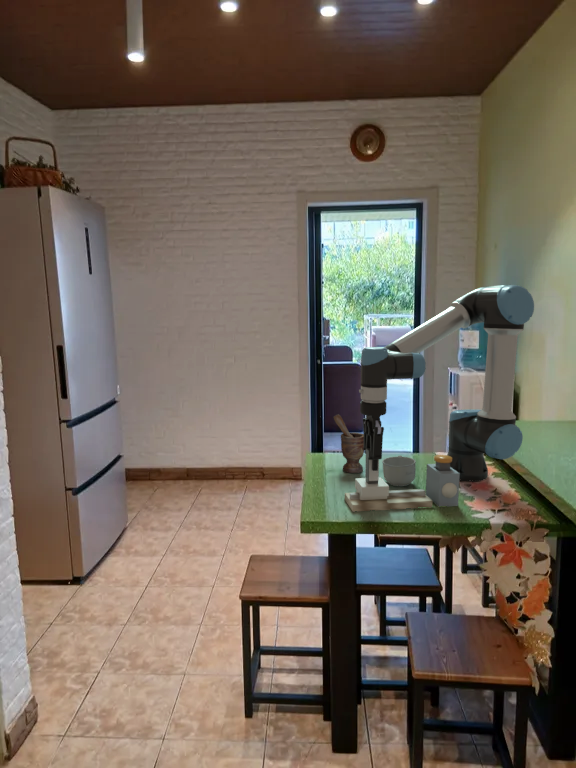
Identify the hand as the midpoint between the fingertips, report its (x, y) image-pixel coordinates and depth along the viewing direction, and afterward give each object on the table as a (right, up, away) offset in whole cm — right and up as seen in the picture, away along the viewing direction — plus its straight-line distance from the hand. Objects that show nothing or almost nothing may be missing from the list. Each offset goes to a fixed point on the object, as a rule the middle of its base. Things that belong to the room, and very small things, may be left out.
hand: (371, 478), depth 157 cm
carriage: (0, -6, +1) cm, 6 cm away
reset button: (+22, -1, +3) cm, 22 cm away
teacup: (+13, -5, +21) cm, 25 cm away
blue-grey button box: (+22, -7, +4) cm, 23 cm away
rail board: (+5, -8, +2) cm, 9 cm away
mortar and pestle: (-3, -3, +34) cm, 34 cm away
